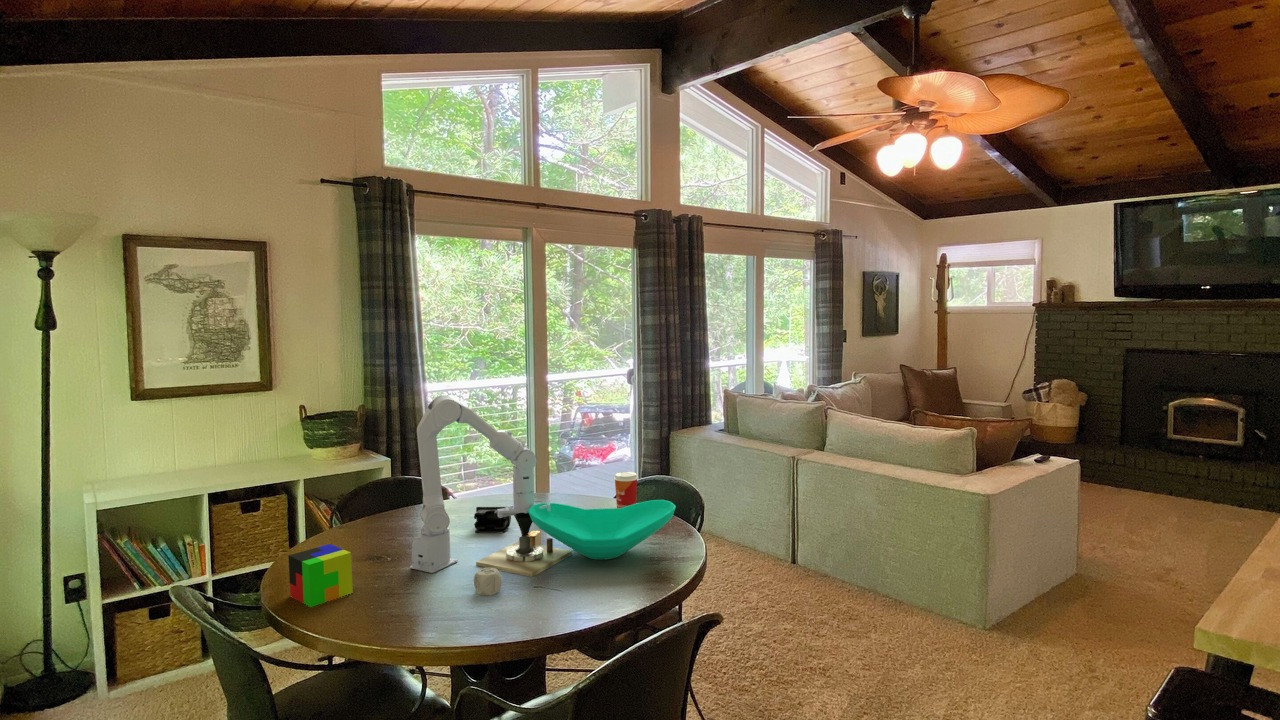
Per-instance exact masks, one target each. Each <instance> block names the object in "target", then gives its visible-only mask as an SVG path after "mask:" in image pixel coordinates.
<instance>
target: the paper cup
mask: <svg viewBox="0 0 1280 720" xmlns="http://www.w3.org/2000/svg"><path fill="white" fill-rule="evenodd" d="M638 479H639V476H638V474H637V473H636V472H635V471H634V472H633V471H622V472H617V473H615V475H614V477H613V480H614V485H615V486H614V487H615V500H616V508H623V507H626V506H630V505H633V504H636V503H637V489H638V488H637V487H638Z"/></svg>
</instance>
